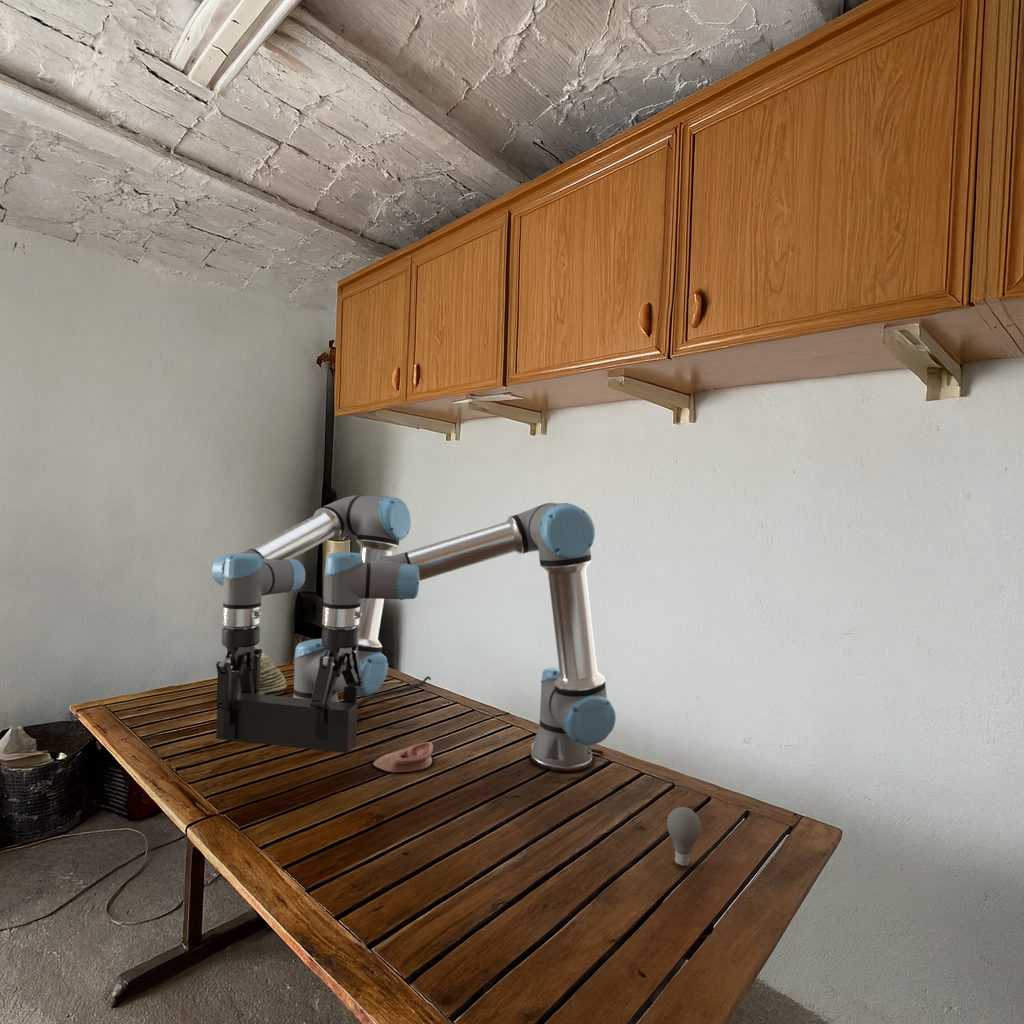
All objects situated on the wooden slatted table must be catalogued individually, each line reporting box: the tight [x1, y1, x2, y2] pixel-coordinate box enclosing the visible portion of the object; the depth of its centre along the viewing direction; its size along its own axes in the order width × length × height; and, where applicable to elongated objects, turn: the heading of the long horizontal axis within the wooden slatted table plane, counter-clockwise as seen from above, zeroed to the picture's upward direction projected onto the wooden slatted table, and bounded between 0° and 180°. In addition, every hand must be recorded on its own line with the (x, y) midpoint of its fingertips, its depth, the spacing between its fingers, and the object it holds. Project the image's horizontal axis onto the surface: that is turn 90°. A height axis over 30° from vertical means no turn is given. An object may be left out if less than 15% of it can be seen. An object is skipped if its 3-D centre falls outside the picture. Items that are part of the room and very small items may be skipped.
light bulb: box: [666, 806, 702, 867], centre depth 114 cm, size 6×6×10 cm
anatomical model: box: [372, 741, 434, 773], centre depth 152 cm, size 13×4×12 cm
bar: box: [215, 692, 358, 754], centre depth 134 cm, size 29×5×9 cm, turn 81°
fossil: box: [233, 647, 288, 696], centre depth 198 cm, size 9×18×15 cm, turn 132°
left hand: (237, 733), depth 136 cm, fingers closed on bar, 5 cm apart
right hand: (336, 727), depth 133 cm, fingers open, 13 cm apart
